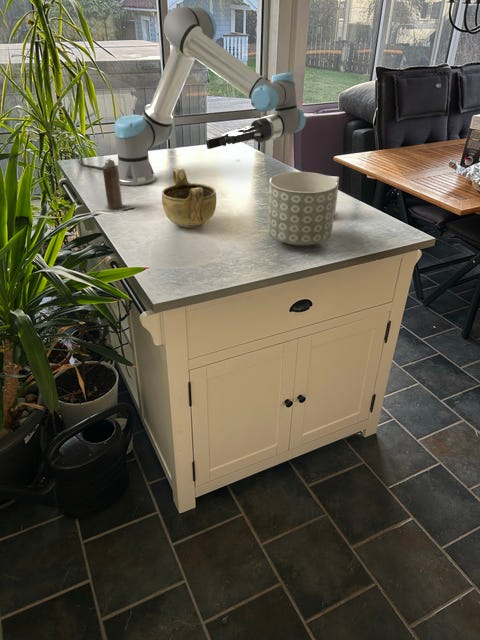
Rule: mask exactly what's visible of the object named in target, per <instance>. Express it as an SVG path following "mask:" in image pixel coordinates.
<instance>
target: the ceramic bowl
mask: <svg viewBox="0 0 480 640" xmlns="http://www.w3.org/2000/svg"><path fill="white" fill-rule="evenodd" d="M172 176H173V181H174V183H173V185H169V186H168V187H167V186H166V187H165V188H164V189H163V190H162V191H161V203H162V208H163V212H164V213H165V215H166V217H167V218H168V220H170V222H172V223H173V224H175V225H176V226H179V227H182V228H195V227H196V228H197V227H200V226H202V225H204V224H206V223H207V222H209V221H210V220H211V218H213V216H214V214H215V212H216V208H217V192H216V188H214V187H213V186H211V185H208V184H204V183H195V182H194V183H193V182H192V183H191V182H189V181H188V176H187V174H186V170H185V169H184V168H175V169H173V172H172Z"/></svg>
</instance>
